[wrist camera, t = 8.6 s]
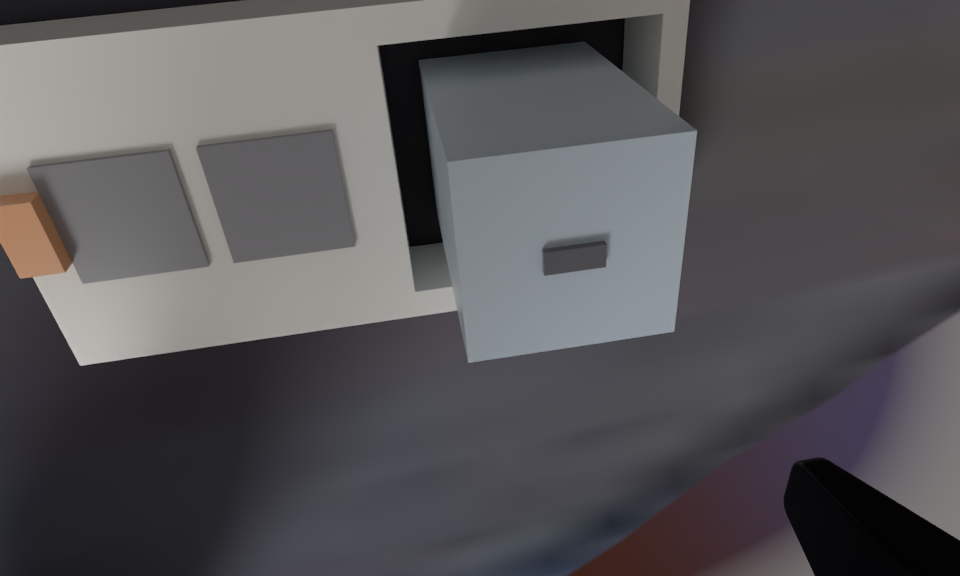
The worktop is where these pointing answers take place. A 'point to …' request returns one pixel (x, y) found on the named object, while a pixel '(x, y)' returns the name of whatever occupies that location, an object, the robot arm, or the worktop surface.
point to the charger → (556, 198)
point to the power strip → (240, 163)
